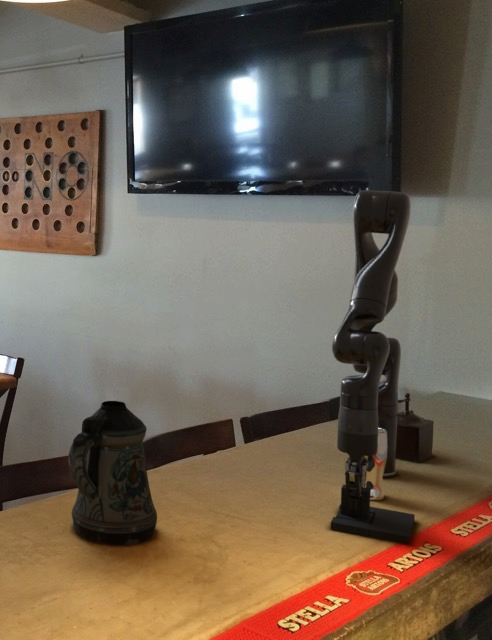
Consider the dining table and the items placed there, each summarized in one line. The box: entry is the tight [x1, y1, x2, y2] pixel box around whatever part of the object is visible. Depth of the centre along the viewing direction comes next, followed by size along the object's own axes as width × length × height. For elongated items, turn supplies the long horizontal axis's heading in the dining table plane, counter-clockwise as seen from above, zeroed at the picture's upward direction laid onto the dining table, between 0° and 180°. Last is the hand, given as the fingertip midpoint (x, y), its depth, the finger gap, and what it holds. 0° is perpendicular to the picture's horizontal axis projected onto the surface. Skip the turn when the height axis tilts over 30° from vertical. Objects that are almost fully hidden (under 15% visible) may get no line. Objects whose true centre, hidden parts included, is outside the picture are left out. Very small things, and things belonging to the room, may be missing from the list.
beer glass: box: [364, 427, 388, 501], centre depth 180 cm, size 7×7×15 cm
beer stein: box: [67, 400, 158, 546], centre depth 156 cm, size 16×19×25 cm
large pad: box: [330, 503, 416, 545], centre depth 162 cm, size 14×14×2 cm
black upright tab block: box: [335, 484, 374, 524], centre depth 164 cm, size 6×6×7 cm
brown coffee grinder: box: [380, 380, 435, 463], centre depth 215 cm, size 16×11×18 cm
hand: (354, 512), depth 164 cm, fingers closed
